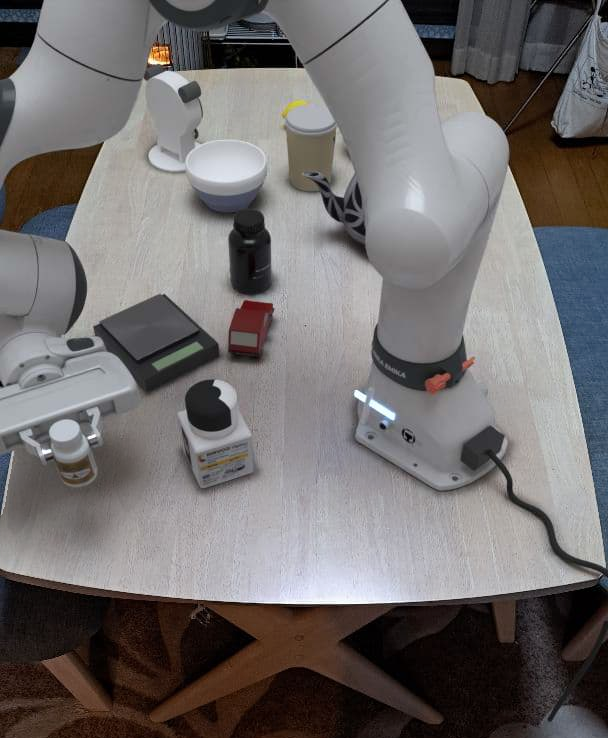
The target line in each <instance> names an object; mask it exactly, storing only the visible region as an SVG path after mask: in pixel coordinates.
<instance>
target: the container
mask: <svg viewBox="0 0 608 738" xmlns="http://www.w3.org/2000/svg"><path fill="white" fill-rule="evenodd" d="M184 404H185V409H184V410H181V411H178V412H177V415H176V416H177V422H178V427H179V434H180V439H181V445H182V451H183V453H184V455H185V458H186V460H187V462H188V465H189V466H190V468H191V471H192V473H193V476H194V477H195V479H196V481H197V483H198V486H199V488H200V489H207V488H209V487H212V486H215V485H219V484H223V483H225V482H228V481H231V480H234V479H237V478H240V477H244V476H247V475H249V474H253V473H254V471H255V470H254V468H255V467H254V453H253V452H254V451H253V437H252V433H251V431H250V429H249V427H248V425H247V423H246V422H245V420H244V417H243V416H242V414H241V412H240V410H239V405H238V395H237V392H236V389H235V388H234V386H232V385H231V384H229V383H228V382H226V381H223V380H220V379H213V378H212V379H211V378H209V379H203V380H200V381H198V382H196V383H194V384H193V385H192V386H191V387H190V388H189V389H187V391H186V393H185V395H184Z"/></svg>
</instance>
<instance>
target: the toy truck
mask: <svg viewBox="0 0 608 738" xmlns="http://www.w3.org/2000/svg"><path fill="white" fill-rule="evenodd" d="M274 311H275V307H274V303H272V302H263V301H256V300H248V299H243V301H242V303H241V306H240V308H238V307H236V308H235V309H234V313H233V316H232V319H231V321H230V324H229V327H228V340H227V341H228V342H227V348H228V350H227V352H228V354H230V355H234V356H237V355H242V356H243V355H244V356H252V357H253V358H258V359H261V358H262V354H263V348H264V344H265V340H266V337H267V334H268V332H269V331H268V330H269V327H270V326H271V325H272V321H273V315H274Z"/></svg>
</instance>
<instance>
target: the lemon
mask: <svg viewBox="0 0 608 738" xmlns="http://www.w3.org/2000/svg"><path fill="white" fill-rule="evenodd" d="M305 104H310V103H309V102H308V101H305V100H302V99H301V100H300V99H298V100H293V101H291V102H290V103H289V104H288V105H287V106H286V107H285V108H284V110H283V111H282V113H281V117H282V118H283V120H284V121H285V118H286V116H287V114H288V112H289V111H290V110H291V109H293V108H294V107H297V106H300V105H305Z"/></svg>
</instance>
